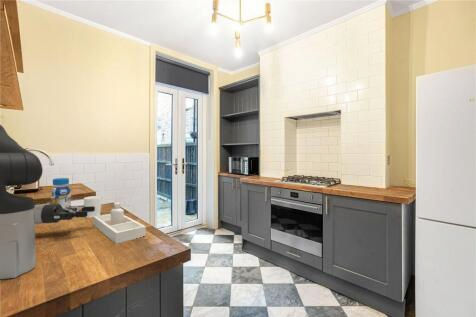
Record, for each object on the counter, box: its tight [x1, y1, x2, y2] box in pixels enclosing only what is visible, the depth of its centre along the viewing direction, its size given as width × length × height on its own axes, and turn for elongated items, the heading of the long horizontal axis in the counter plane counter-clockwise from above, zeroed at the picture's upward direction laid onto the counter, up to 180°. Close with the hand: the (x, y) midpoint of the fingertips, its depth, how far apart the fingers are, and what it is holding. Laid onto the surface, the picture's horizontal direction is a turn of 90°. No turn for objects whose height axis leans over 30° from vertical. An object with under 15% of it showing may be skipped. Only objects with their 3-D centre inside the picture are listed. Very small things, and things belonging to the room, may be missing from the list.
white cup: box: [83, 195, 102, 219], centre depth 120 cm, size 8×8×10 cm
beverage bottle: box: [50, 177, 72, 209], centre depth 119 cm, size 8×8×20 cm
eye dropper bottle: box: [110, 199, 125, 225], centre depth 97 cm, size 4×6×12 cm
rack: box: [92, 213, 147, 245], centre depth 98 cm, size 31×11×4 cm, turn 46°
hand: (90, 211), depth 95 cm, fingers open, 8 cm apart
